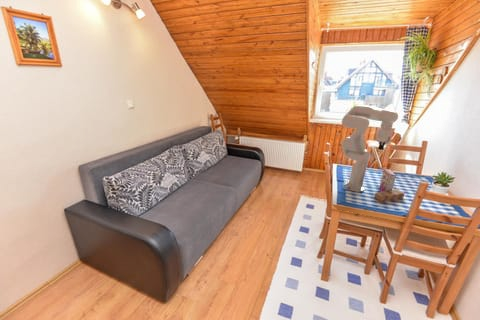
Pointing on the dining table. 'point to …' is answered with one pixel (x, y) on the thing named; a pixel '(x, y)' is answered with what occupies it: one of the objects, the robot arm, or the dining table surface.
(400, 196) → the brown lumpy bar
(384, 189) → the candy bar box
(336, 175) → the dining table surface
